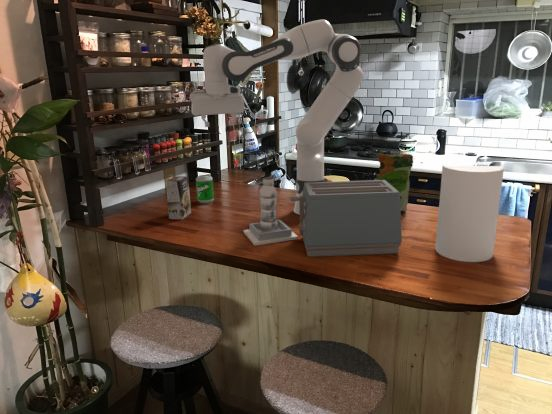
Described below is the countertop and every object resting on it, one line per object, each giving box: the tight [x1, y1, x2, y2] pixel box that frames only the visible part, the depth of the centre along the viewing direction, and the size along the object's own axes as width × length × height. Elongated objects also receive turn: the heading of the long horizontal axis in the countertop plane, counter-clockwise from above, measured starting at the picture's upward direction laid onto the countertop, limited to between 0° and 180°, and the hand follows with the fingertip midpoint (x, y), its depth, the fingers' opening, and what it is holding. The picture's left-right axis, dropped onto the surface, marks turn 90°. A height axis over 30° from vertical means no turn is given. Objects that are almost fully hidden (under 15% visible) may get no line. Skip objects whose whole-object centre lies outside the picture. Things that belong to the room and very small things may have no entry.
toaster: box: [290, 179, 403, 258], centre depth 151 cm, size 19×35×20 cm, turn 92°
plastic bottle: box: [258, 177, 278, 233], centre depth 162 cm, size 6×7×20 cm
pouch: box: [376, 152, 414, 212], centre depth 184 cm, size 11×12×25 cm
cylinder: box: [435, 165, 505, 263], centre depth 143 cm, size 17×17×28 cm
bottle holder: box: [243, 219, 299, 246], centre depth 164 cm, size 16×14×4 cm
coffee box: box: [165, 175, 192, 221], centre depth 187 cm, size 9×6×16 cm
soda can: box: [195, 174, 215, 204], centre depth 208 cm, size 8×8×12 cm
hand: (219, 126), depth 177 cm, fingers open, 8 cm apart
